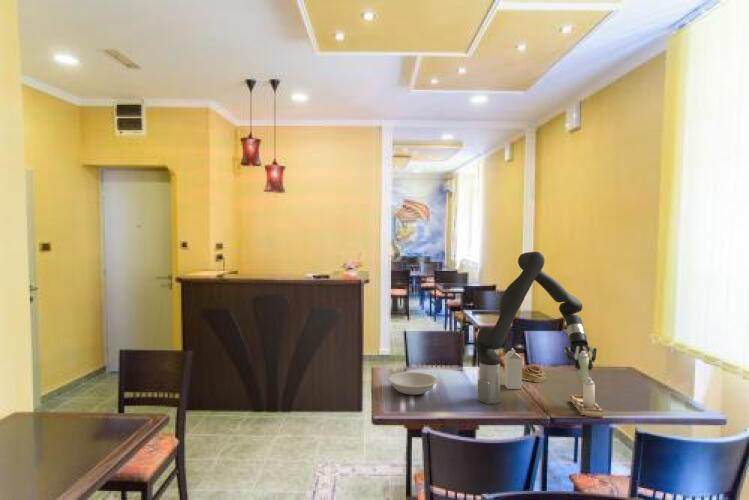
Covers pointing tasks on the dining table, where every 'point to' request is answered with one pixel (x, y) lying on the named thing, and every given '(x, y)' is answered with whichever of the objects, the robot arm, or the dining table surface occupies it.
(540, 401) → the dining table surface
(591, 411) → the condiment stand
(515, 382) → the milk carton
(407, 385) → the soup bowl
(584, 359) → the pepper mill
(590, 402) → the salt mill
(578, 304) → the robot arm
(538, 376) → the pastry
